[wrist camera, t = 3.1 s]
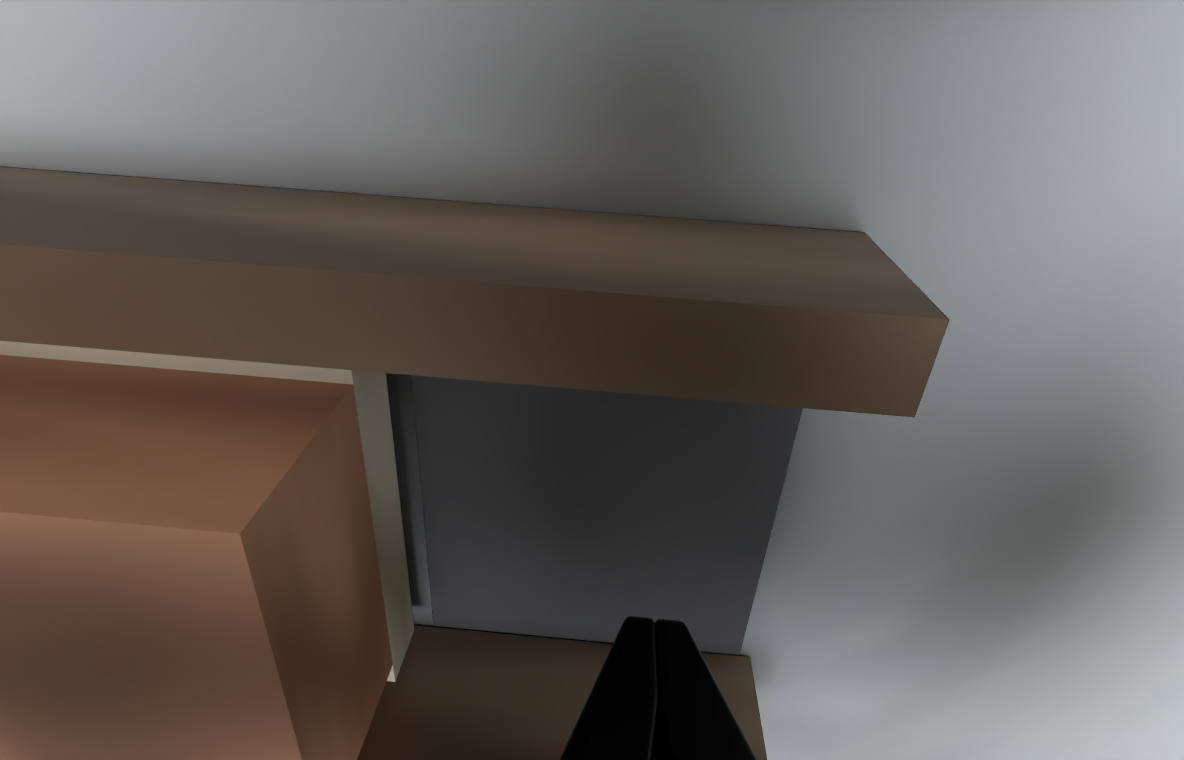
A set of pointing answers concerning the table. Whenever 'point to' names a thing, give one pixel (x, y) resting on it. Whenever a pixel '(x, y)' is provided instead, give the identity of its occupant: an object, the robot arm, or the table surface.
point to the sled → (195, 557)
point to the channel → (470, 351)
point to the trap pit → (596, 507)
